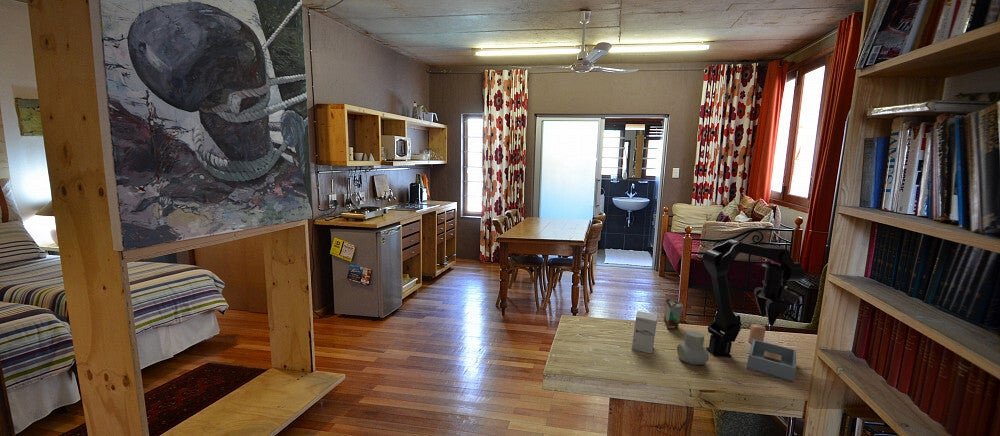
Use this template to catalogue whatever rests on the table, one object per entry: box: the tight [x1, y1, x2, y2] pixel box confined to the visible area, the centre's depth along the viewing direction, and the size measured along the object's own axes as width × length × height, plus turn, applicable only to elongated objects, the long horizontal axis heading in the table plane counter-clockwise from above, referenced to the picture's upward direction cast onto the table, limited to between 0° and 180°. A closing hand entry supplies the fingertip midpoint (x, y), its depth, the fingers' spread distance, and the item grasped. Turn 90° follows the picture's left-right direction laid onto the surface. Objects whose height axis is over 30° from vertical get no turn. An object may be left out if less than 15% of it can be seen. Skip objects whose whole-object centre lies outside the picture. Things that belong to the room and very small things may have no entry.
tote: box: [746, 339, 797, 383], centre depth 157 cm, size 18×14×5 cm
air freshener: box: [676, 330, 710, 366], centre depth 156 cm, size 11×8×10 cm
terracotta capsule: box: [747, 323, 766, 345], centre depth 176 cm, size 5×5×7 cm
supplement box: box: [631, 310, 659, 355], centre depth 164 cm, size 7×7×13 cm
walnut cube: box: [763, 351, 782, 363], centre depth 154 cm, size 5×5×5 cm
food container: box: [663, 297, 685, 331], centre depth 188 cm, size 12×6×10 cm, turn 168°
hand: (766, 320), depth 167 cm, fingers open, 9 cm apart
